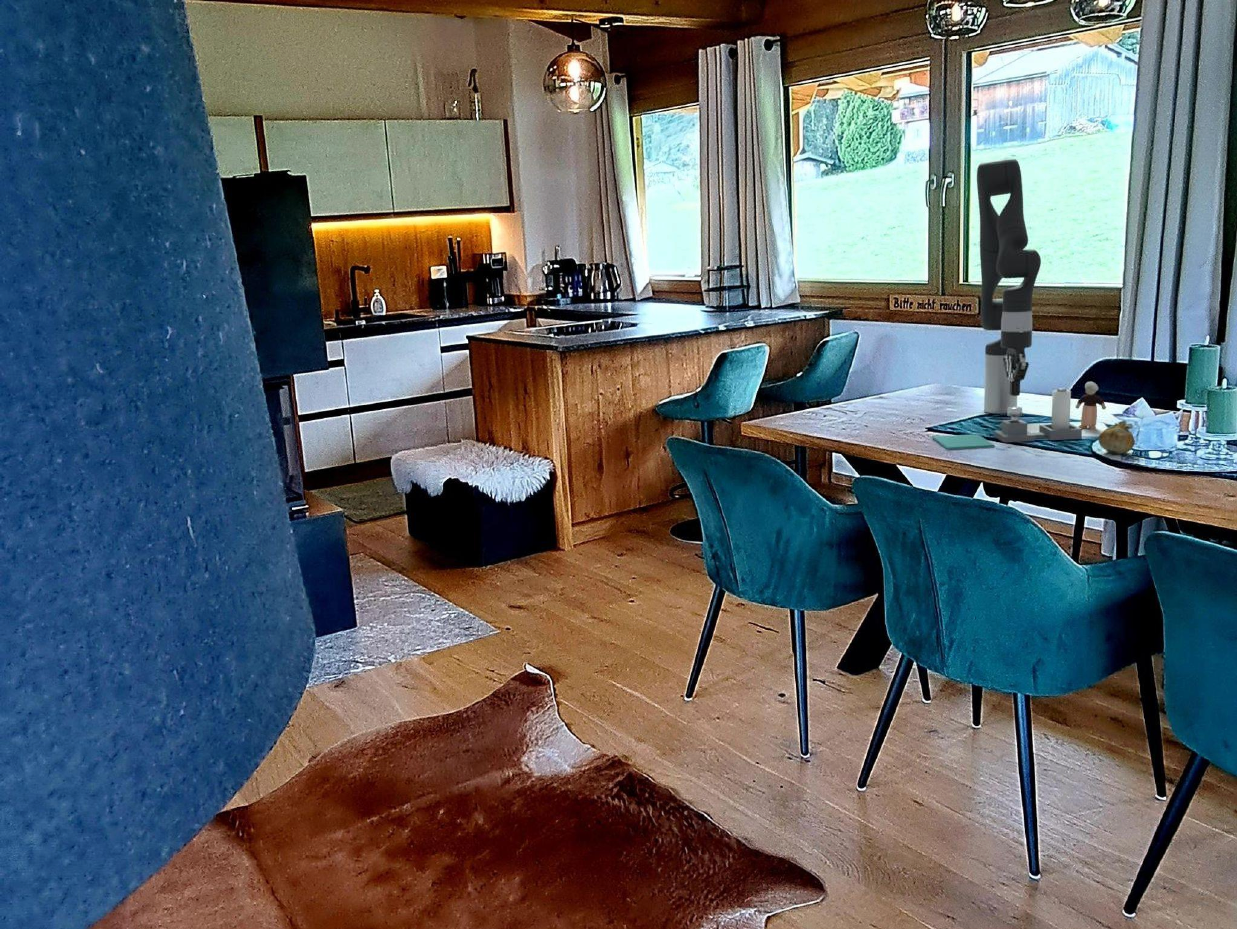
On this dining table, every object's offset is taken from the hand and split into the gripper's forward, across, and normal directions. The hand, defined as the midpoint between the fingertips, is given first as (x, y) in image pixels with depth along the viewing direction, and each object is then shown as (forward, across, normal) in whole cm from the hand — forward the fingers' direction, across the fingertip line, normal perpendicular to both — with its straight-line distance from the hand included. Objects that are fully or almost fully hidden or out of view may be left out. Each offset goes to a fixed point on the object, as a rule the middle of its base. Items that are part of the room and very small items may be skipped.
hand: (1014, 395), depth 279 cm
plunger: (+8, 0, 0) cm, 8 cm away
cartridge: (+12, 0, +12) cm, 17 cm away
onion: (+12, +22, +17) cm, 30 cm away
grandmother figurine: (+12, -8, +23) cm, 27 cm away
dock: (+12, 0, +7) cm, 14 cm away
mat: (+12, +2, -14) cm, 18 cm away
